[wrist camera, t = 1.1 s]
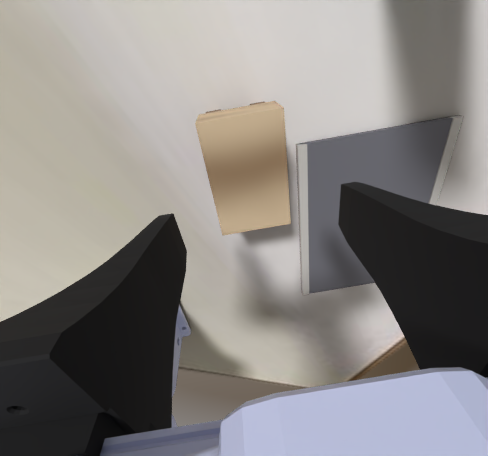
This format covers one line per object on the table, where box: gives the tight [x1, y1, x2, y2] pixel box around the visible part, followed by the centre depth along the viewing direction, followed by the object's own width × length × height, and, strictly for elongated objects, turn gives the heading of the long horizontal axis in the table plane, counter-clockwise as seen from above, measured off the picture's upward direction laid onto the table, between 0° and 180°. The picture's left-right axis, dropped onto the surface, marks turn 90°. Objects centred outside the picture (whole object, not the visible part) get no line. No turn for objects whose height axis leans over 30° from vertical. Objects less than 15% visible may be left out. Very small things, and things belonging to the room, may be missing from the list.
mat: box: [296, 115, 464, 295], centre depth 23 cm, size 16×12×1 cm
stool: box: [195, 101, 291, 235], centre depth 17 cm, size 7×4×5 cm, turn 9°
